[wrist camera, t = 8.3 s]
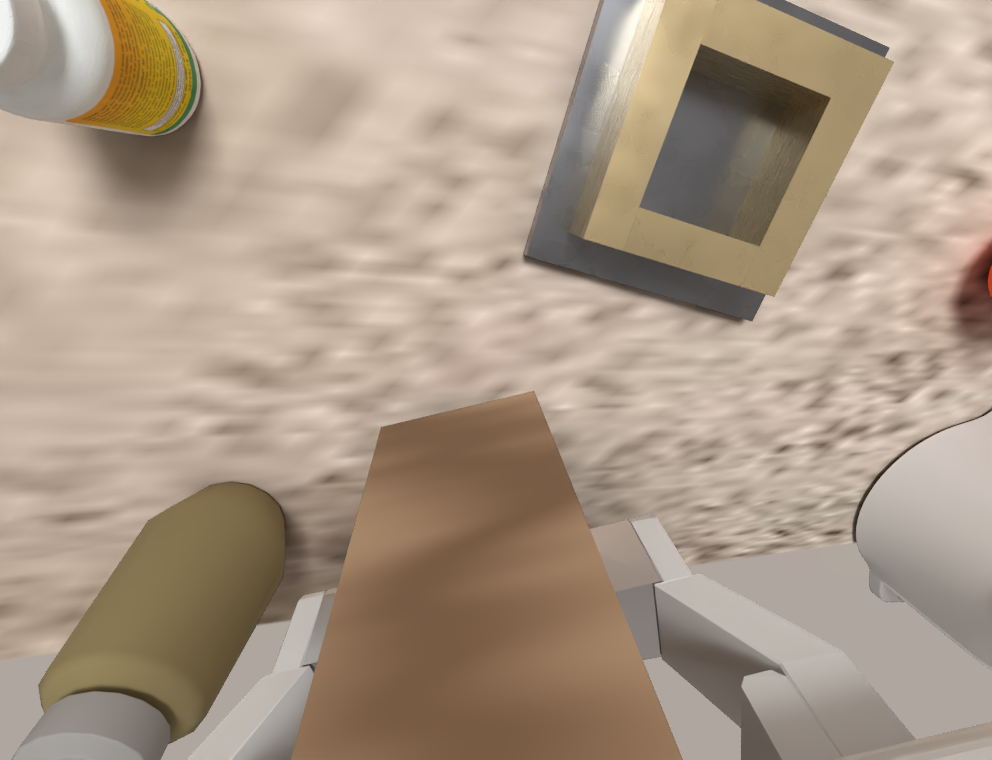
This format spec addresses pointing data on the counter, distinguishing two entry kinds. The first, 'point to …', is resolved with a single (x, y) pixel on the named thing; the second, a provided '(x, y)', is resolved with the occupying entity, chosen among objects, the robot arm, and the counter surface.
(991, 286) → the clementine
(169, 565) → the squeeze bottle
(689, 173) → the collar
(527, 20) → the counter surface
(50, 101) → the supplement bottle
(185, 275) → the counter surface
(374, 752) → the peg
